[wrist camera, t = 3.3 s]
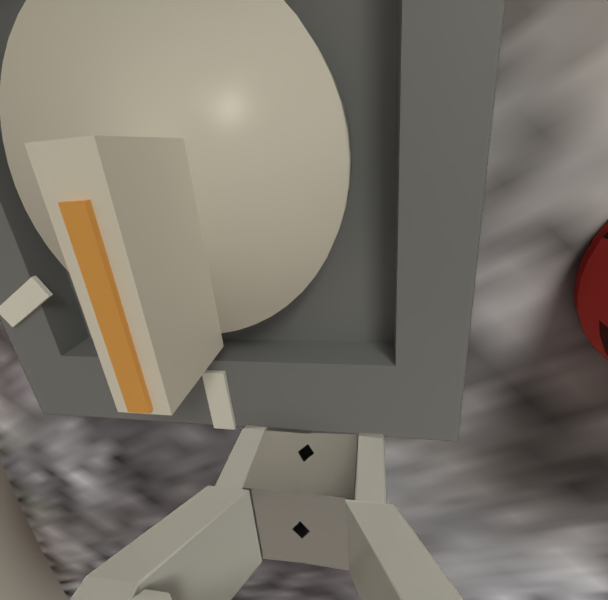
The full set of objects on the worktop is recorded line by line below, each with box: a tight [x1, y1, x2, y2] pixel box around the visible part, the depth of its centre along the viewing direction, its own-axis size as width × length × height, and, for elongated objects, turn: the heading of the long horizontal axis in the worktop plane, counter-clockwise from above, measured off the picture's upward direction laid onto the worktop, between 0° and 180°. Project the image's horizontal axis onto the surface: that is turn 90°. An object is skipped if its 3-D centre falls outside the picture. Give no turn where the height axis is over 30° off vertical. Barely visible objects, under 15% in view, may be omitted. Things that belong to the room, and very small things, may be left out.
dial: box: [0, 0, 352, 415], centre depth 11 cm, size 12×12×6 cm
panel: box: [0, 0, 505, 441], centre depth 14 cm, size 22×20×3 cm
